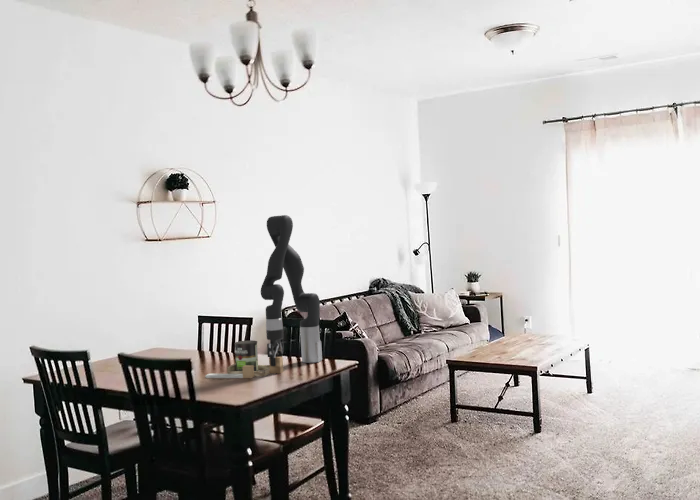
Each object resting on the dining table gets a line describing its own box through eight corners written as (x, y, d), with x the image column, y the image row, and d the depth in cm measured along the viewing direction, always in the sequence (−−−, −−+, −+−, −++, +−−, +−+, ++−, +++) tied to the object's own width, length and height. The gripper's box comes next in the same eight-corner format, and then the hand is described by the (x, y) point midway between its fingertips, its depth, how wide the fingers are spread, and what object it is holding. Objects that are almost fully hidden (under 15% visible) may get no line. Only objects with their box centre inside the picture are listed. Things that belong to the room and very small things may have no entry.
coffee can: (250, 375, 298) (248, 344, 298) (231, 374, 302) (229, 343, 302) (263, 370, 307) (261, 340, 307) (245, 370, 312) (243, 340, 311)
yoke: (288, 369, 308) (287, 354, 307) (275, 376, 293) (274, 360, 293) (241, 369, 314) (241, 354, 314) (227, 376, 299) (226, 360, 299)
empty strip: (254, 376, 295) (253, 365, 295) (251, 378, 292) (250, 366, 292) (209, 376, 301) (208, 365, 301) (205, 377, 297) (205, 366, 297)
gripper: (276, 330, 293) (278, 367, 293) (287, 325, 306) (290, 360, 307) (260, 331, 295) (262, 367, 295) (272, 326, 308) (274, 361, 309)
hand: (276, 364), depth 301 cm, fingers open, 8 cm apart
